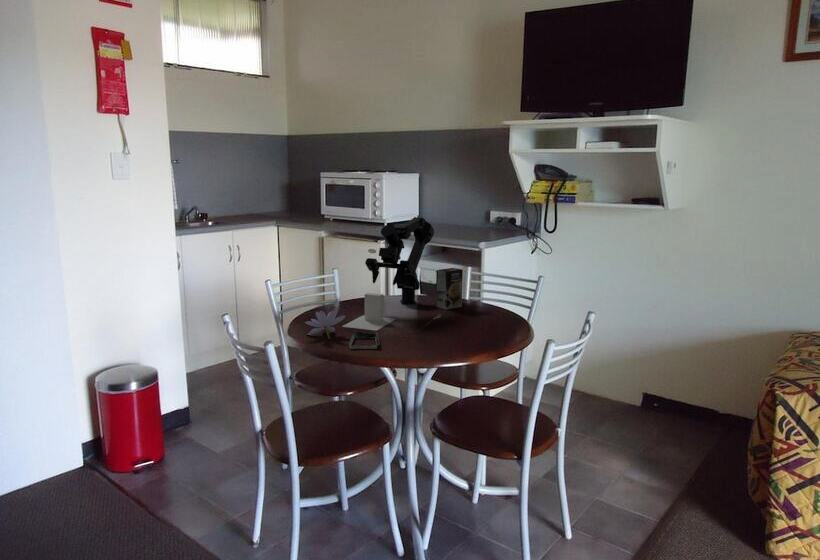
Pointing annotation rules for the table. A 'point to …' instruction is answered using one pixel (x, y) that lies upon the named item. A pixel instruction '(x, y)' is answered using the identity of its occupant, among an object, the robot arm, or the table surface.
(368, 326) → the mat
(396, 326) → the table surface
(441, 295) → the coffee box
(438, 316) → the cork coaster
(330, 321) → the water lily
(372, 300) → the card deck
